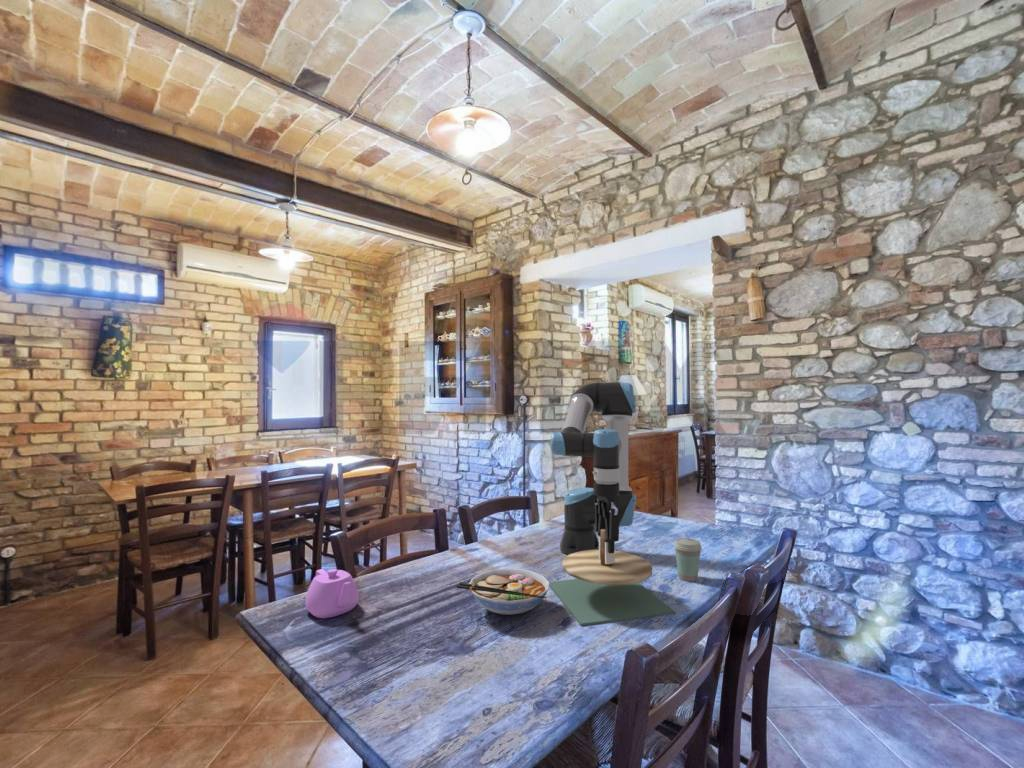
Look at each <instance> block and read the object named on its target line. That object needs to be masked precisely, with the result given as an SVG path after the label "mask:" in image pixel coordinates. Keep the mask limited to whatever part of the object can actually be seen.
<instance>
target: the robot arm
mask: <svg viewBox="0 0 1024 768" xmlns="http://www.w3.org/2000/svg"><path fill="white" fill-rule="evenodd" d="M591 413H601V418H602V419H603V420H604V421H605V428H603V429H601V428H600V429H596V430H594V431H593V432H585V430H586V427H587V423H588V419H589V416H590V414H591ZM635 413H637V408H636V399H635V392H634V386H633V384H632V383H630V382H620V381H619V382H616V381H615V382H589V383H587V384H584V385H582V386H581V387H579V388H577V389H576V390H575V391H574V392H573V394H572V395H570V398H569V401H568V411H567V414H566V417H565V420H564V422H563V425H562V428H561V431H557V432H553V433H552V434H551V437H550V452H551V454H552V455H555V456H562V457H587V458H588V457H589V458H590V457H593V471H592V475H593V480H594V482H593V487H578V488H577V487H576V488H573V489H570V490H567V491H566V493H565V494H564V501H563V502H564V503H563V506H564V530H563V533H562V536H561V540H560V543H559V551H560V552H561V553H563V554H565V555H566V556H568V555H570V554H572V553H575V552H579V551H585V550H599V559H601V529H606V540H604V542H605V564H613V563H615V551H616V548H615V545H616V544H615V543H616V542H619V540H620V538H619V537H620V527H630V526H632V525H633V523H634V518H635V509H636V503H637V502H636V501H637V495H636V494H634V493H633V489H632V487H630V485H629V421H631V420H632V419H633V414H635Z"/></svg>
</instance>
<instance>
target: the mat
mask: <svg viewBox="0 0 1024 768" xmlns="http://www.w3.org/2000/svg"><path fill="white" fill-rule="evenodd" d="M549 588H550V589H551V591H553V593H554V594H555V595H556V597H557V598H558V600H559V601H560V603H561V604H562V605H563V606H564V607H565V608H566V610H567V611H568V613H569V614H571V616H572V617H573V619H575V621H576V622H577V623H578V624H579V627H580V626H581V627H582V626H590V625H598V624H599V625H600V624H605V623H612V622H613V623H614V621H615V622H621V621H629V620H636V619H643V618H644V619H645V618H652V617H659V616H666V615H673V614H674V615H675V614H676V610H674V608H672V607H671V606H670V605H669V604H667V603H666V602H664V601H663V600H661V599H660V598H659V597H658V596H657V595H655V594H654V593H653V592H652V591H650V590H649V589H648V588H646V587H645V586H644V585H643V584H641V582H639V583H634V584H627V585H604V584H596V583H591V582H587V581H583V580H580V579H577V578H575V579H574V578H572V579H565V580H554V581H553V580H552V581H549Z"/></svg>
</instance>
